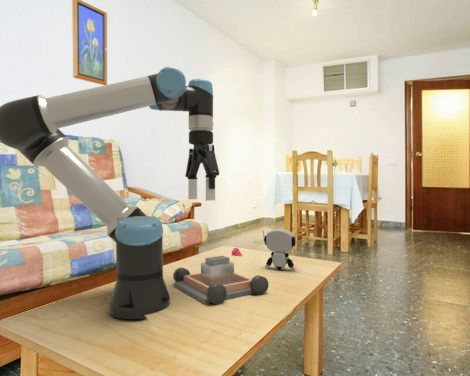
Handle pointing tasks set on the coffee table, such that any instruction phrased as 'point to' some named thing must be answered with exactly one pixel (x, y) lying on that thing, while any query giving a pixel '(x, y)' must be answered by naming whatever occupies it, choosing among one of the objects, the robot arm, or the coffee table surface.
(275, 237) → the robot toy
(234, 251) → the toy pieces
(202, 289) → the chassis
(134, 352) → the coffee table surface
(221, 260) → the block
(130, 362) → the coffee table surface
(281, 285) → the coffee table surface
